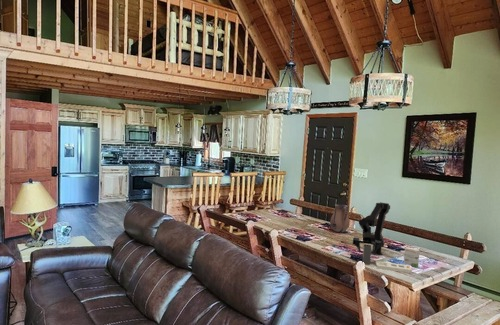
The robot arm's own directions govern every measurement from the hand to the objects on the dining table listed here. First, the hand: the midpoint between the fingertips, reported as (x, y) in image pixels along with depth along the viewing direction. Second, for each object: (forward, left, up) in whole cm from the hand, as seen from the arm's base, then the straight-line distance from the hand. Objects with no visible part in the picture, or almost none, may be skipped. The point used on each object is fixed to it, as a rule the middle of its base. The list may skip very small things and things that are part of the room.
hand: (367, 253), depth 228 cm
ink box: (+1, +34, -8) cm, 35 cm away
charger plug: (-1, +1, -8) cm, 8 cm away
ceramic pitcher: (-86, +23, -8) cm, 90 cm away
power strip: (+9, +14, -8) cm, 19 cm away
